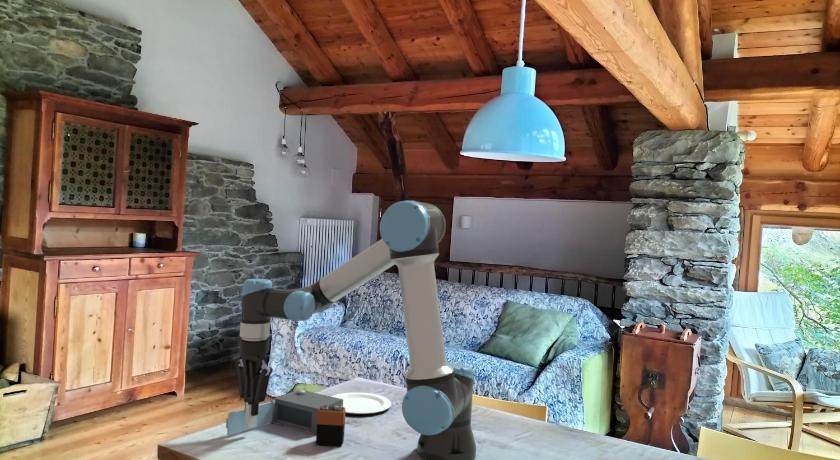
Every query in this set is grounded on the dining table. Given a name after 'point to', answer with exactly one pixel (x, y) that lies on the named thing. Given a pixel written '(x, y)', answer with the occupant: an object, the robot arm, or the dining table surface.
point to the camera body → (301, 409)
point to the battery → (330, 426)
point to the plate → (363, 403)
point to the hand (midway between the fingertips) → (250, 426)
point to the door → (237, 418)
